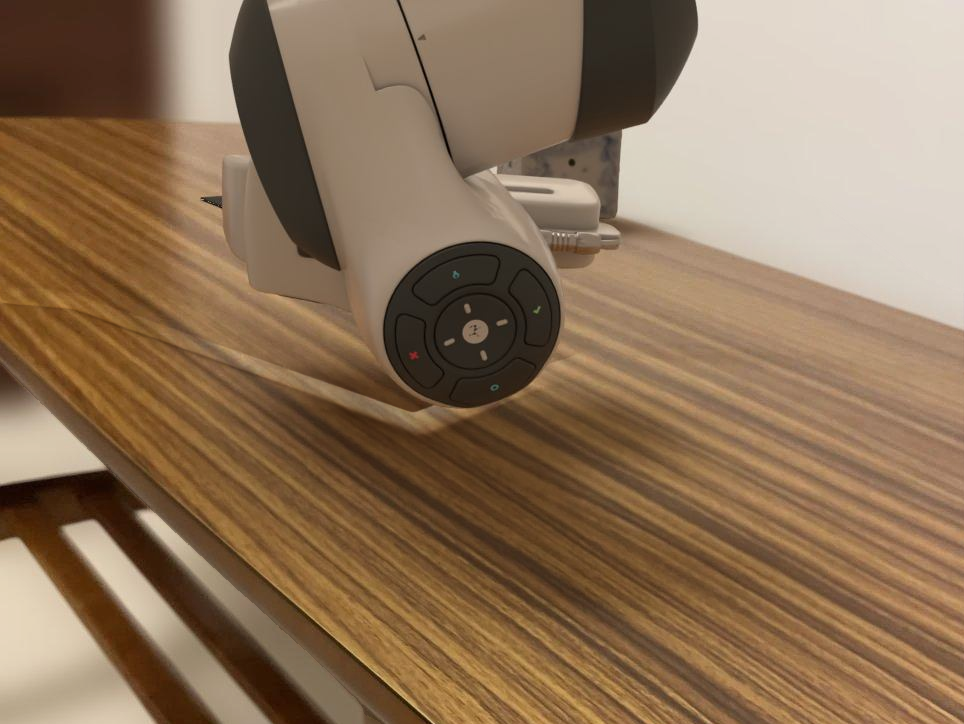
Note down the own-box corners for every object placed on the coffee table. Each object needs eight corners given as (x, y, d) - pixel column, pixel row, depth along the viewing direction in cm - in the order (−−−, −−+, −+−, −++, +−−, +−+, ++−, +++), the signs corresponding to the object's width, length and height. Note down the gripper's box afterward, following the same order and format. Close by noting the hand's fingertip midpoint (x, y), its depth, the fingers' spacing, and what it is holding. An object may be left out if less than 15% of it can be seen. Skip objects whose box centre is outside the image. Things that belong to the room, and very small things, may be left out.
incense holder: (581, 211, 119) (594, 98, 114) (617, 231, 112) (632, 111, 107) (485, 208, 115) (495, 91, 110) (516, 229, 108) (527, 104, 104)
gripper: (639, 185, 61) (578, 141, 74) (215, 155, 57) (224, 113, 69) (622, 309, 64) (566, 246, 76) (217, 289, 60) (225, 226, 72)
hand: (401, 183), depth 73 cm, fingers open, 8 cm apart
